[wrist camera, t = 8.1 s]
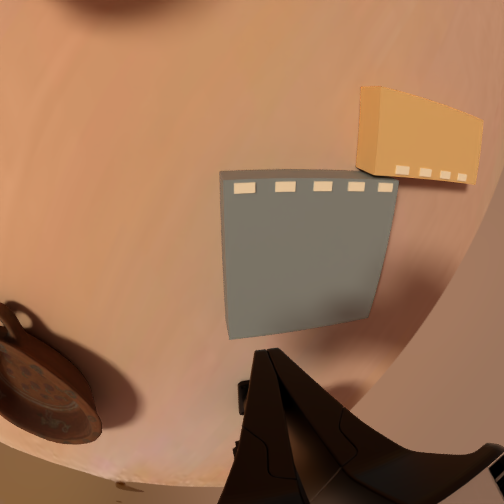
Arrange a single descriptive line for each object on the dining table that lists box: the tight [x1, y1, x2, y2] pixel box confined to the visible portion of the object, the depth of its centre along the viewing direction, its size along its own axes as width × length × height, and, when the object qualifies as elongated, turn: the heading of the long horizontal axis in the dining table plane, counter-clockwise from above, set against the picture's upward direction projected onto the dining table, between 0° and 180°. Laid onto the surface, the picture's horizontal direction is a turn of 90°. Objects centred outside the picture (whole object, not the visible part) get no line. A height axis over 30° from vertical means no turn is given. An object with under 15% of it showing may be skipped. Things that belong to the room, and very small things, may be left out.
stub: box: [356, 86, 483, 185], centre depth 18 cm, size 6×12×3 cm, turn 90°
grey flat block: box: [220, 169, 399, 340], centre depth 21 cm, size 12×12×3 cm
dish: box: [0, 303, 102, 444], centre depth 21 cm, size 18×22×5 cm
